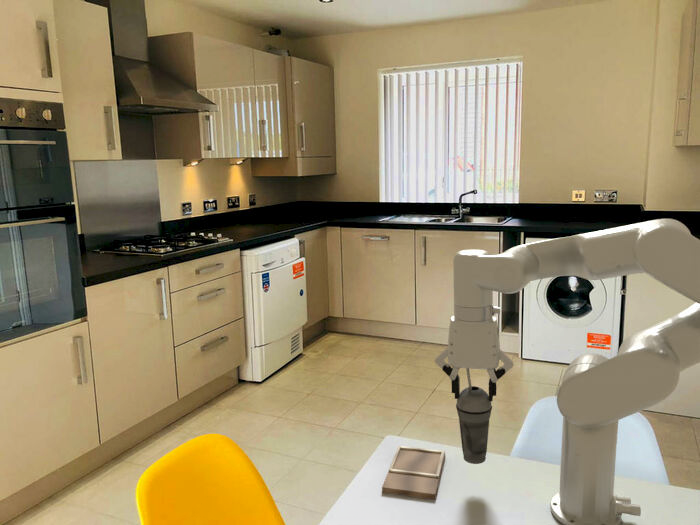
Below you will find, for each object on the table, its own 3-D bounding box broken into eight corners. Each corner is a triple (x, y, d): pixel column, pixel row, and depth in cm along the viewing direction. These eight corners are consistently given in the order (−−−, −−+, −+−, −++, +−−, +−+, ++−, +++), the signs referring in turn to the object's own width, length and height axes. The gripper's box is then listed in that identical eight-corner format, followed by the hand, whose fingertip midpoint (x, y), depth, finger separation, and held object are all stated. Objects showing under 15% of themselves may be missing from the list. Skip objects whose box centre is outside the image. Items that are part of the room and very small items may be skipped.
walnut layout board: (445, 457, 135) (445, 450, 134) (435, 499, 119) (435, 492, 118) (398, 451, 138) (398, 445, 138) (382, 492, 122) (382, 485, 121)
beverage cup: (493, 468, 118) (492, 374, 114) (456, 466, 119) (454, 373, 116) (492, 450, 125) (491, 361, 121) (457, 448, 126) (455, 360, 123)
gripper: (518, 308, 118) (518, 393, 121) (432, 306, 122) (434, 387, 126) (518, 318, 110) (517, 408, 114) (427, 316, 115) (429, 402, 118)
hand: (473, 396), depth 120 cm, fingers closed on beverage cup, 6 cm apart
